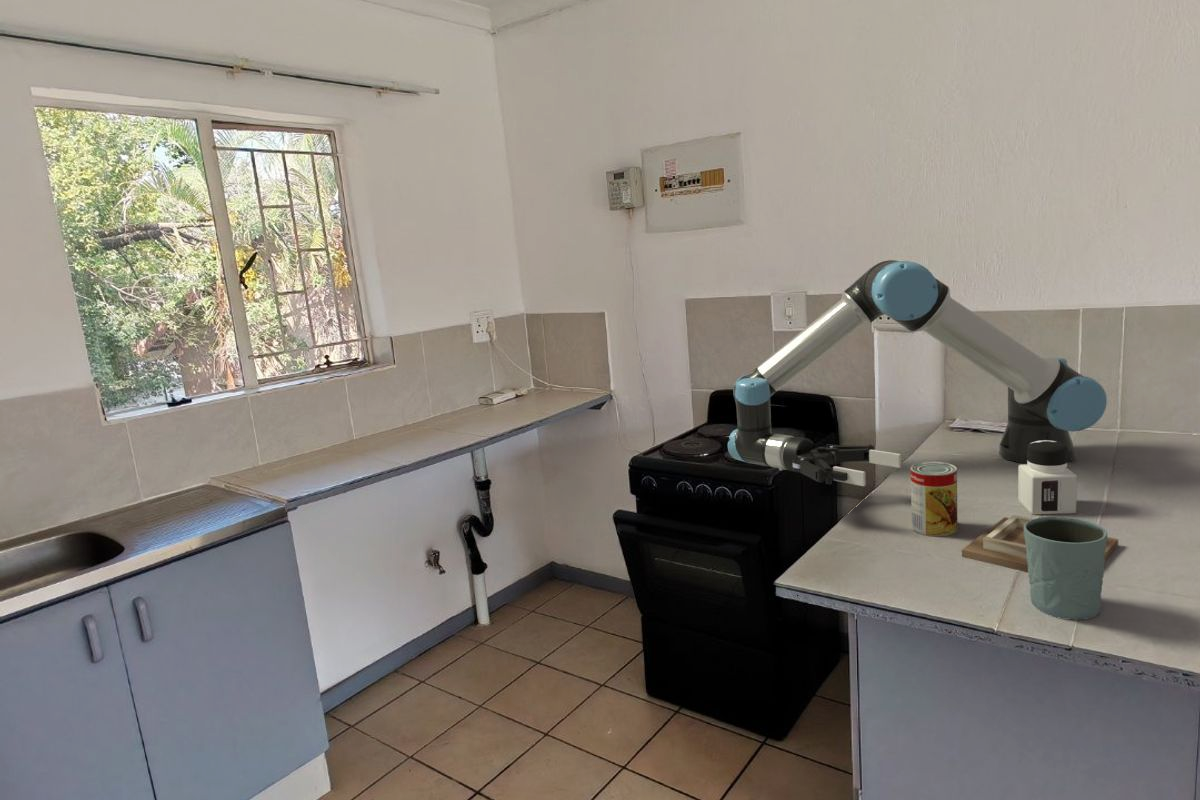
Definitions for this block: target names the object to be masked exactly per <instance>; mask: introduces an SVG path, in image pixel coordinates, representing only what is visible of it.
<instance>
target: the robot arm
mask: <svg viewBox="0 0 1200 800" xmlns="http://www.w3.org/2000/svg"><path fill="white" fill-rule="evenodd" d="M950 291H951V290H950V286H948V285H946V284H945V283H943V282H942V281H940V280H939V279H937V278H936V277H935V276H934V274H933V273H932V272H931V271H930V270H929V269H928V268H927V267H925V266H923V265H922V264H920V263H917V262H915V261H910V260H909V261H907V260H901V261H900V260H893V259H891V260H885V261H881V262H878V263H876V264H874V265H873V266H872V267H870V268H869V269H868V270H866V272H864V274H861V276H860V277H859V278H857V280H856V281H854V282H853V283H852V284H851V285H850V286H849V287H848V288H846V289H845V290H844V291H842V293H841V298H840V300H839V301H837V302H836V303H835V304H834V305H832V306H831V307H830V308H829V309H828V310H826V311H825V312H823V313H822V314H820V316H819V317H817V318H816V319H815V320H813V322H811V323H810V324H809V325H807V326H806V327H805V328H803V330H801V331H800V332H799V333H797V334H796V335H795V336H794V337H793V338H792V339H790V340H789V341H787V343H785V344H784V345H783V346H781V347H780V348H779V349H778V350H776V351H775V352H774V353H772V355H771V356H769V357H768V358H767V359H765V360H764V361H763V362H762V363H760V364H759V365H758V366H757V367H756V368H754V369H753V370H752V371H751V372H750V373H748V374H744V375H742V376H740V377H739V378H738V379H737V380H736V382H735V383H734V386H733V390H732V391H733V392H732V394H733V398H734V402H735V406H736V419H737V428H736V429H734V430H732V432H730V435H729V436H728V442H727V450H728V453H729V455H730V457H732V458H733V459H734V460H738V461H741V462H745V463H746V464H754V465H759V466H765V467H770V468H776V469H778V470H779V471H784V470H785V471H789V472H793V473H794V472H795V473H799V474H801V475H804V476H806V477H808V478H810V479H812V480H813V481H815V482H818V483H821V484H822V483H824V482H825V484H826V485H832V484H833V481H836V482H841V483H843V484H844V483H845V484H850V485H855V486H860V487H865V486H866V484H867V483H866V482H867V481H866V471H863V470H857V469H852V468H846V467H841V466H836V465H839V464H840V463H848V462H849V463H850V462H851V463H853V462H869V463H870V464H873V465H874V464H876V465H882V466H886V467H892V468H898V469H899V468H901V467H902V454H901V453H896V452H889V451H883V450H876V449H875V446H874V445H872V444H868V445H852V444H851V445H848V444H847V445H844V444H839V445H838V444H831V443H828V444H826V445H825V446H818V447H817V446H815V444H814V443H813V441H812V440H811V439H809V438H806V437H798V436H793V435H788V434H780V433H774V432H772V422H771V421H772V419H771V418H772V414H771V397H772V396H773V395H774V394H776V393H778V391H780V390H781V389H782V388H783V387H785V385H787V384H789V382H791V381H792V380H794V379H795V378H796V377H797V376H798V375H800V374H801V373H802V372H804V371H805V370H806V369H807V368H808V367H810V366H811V365H812V364H814V363H815V362H816V361H817V360H819V359H820V358H822V356H825V354H826V353H827V352H829V351H830V350H831V349H832V348H834V347H835V346H836V345H838V344H840V343H841V342H842V341H843V340H844V339H845V338H847V337H848V336H849V335H851V333H853V332H854V331H855V330H857V329H858V328H859V327H860V326H862V325H864V324H865V325H871V323H873V322H874V321H876V320H877V319H878V318H880V317H881V316H883V315H886V317H889V318H890V319H892V320H893V321H895V322H896V323H898V324H899V325H900V326H902V327H904V328H905V329H907V330H908V331H910V332H911V333H917V332H922V331H923V332H925V333H926V334H927V335H929V336H931V337H932V338H934V339H935V340H937V341H939V342H940V343H942V344H943V345H944V346H946V347H947V348H949V349H951V350H952V351H953V352H955V353H957V354H958V355H959V356H961V357H962V358H963V359H965V360H967V361H968V362H970V363H972V364H973V365H974V366H976V367H977V368H979V369H980V370H982V371H983V372H985V373H986V374H988V375H989V376H991V377H992V378H994V379H996V380H997V381H998V382H1001V383H1002V384H1003V385H1005V387H1007V424H1006V427H1005V430H1004V432H1003V435H1002V437H1001V440H1000V442H999V448H998V450H999V456H1000V455H1001V456H1000V457H1002V458H1003V459H1005V460H1008V461H1011V460H1012V462H1015V461H1016V462H1015V463H1020V464H1027V454H1028V445H1029V444H1030V443H1032V442H1036V441H1042V440H1049V441H1056V442H1060V443H1062V444H1064V445H1066V446H1067V448H1068V450H1067V462H1070V461H1072V460H1073V459H1074V458H1075V446H1074V443H1073V441H1072V438H1071V435H1070V433H1069V432H1074V433H1075V432H1081V431H1084V430H1087V429H1089V428H1091V427H1092V426H1094V425H1096V423H1098V422H1099V421H1100V419H1101V418H1102V417H1103V416H1104V413H1105V411H1106V408H1107V402H1108V401H1107V400H1108V399H1107V398H1108V397H1107V393H1106V391H1105V388H1104V387H1103V386H1102V385H1101V384H1100V383H1099V382H1098V381H1096V379H1094V378H1092V377H1090V376H1084V375H1082V374H1081V373H1079V372H1078V371H1076V370H1074V369H1073V368H1072V367H1070V366H1069V365H1068V362H1067V359H1066V358H1064V357H1053V356H1052V357H1040V356H1039V355H1038V354H1036V353H1035V352H1034V351H1031V350H1030V349H1029V348H1028V347H1026V346H1024V345H1023V344H1021V343H1020V342H1018V341H1017V340H1015V339H1014V338H1012V337H1011V336H1009V335H1008V334H1006V333H1005V332H1003V331H1002V330H1000V329H999V328H997V327H996V326H994V325H993V324H991V323H989V321H987V320H985V319H984V318H982V317H981V316H979V315H978V314H977V313H975V312H973V311H972V310H970V309H968V308H967V307H965V306H964V305H963V304H961V303H960V302H958V301H956V300H955V299H953V298H952V297H951V292H950ZM832 465H835V466H833V467H831V466H832Z"/></svg>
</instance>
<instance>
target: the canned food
mask: <svg viewBox="0 0 1200 800" xmlns="http://www.w3.org/2000/svg"><path fill="white" fill-rule="evenodd" d="M910 491H911V492H910V493H911V495H910V498H911V502H910V503H911V504H910V505H911V529H912V530H913V531H914V532H915V533H917V534H920V535H923V536H929V537H947V536H951V535H954V534H955V533H957V532H958V467H956V466H955V465H954V464H951V463H949V462H943V461H922V462H916V463H914V464H912V465H911V466H910Z"/></svg>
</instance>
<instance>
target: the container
mask: <svg viewBox="0 0 1200 800" xmlns="http://www.w3.org/2000/svg"><path fill="white" fill-rule="evenodd" d="M1067 450H1068V448H1067V446H1066V445H1064V444H1062V443H1060V442H1056V441H1049V440H1042V441H1036V442H1032V443H1030V444H1029V445H1028V454H1027V463H1024V464H1018V475H1017V477H1018V481H1017V483H1018V484H1017V485H1018V489H1017V490H1018V492H1017V493H1018V494H1017V495H1018V496H1017V497H1018V498H1017V500H1018V502H1019V503H1020V504H1021V505H1022V506H1024V508H1025V509H1026V510H1027V511H1029V513H1030V514H1032V515H1063V514H1065V515H1066V514H1067V515H1069V514H1076V512H1077V495H1078V494H1077V493H1078V485H1077V484H1078V476H1077V474H1076V473H1074V472H1073V471H1072V470H1070V469H1069V468H1068V461H1067Z"/></svg>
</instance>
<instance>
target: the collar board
mask: <svg viewBox="0 0 1200 800" xmlns="http://www.w3.org/2000/svg"><path fill="white" fill-rule="evenodd" d="M1033 519H1034V518H1031V517H1026V516H1022V515H1021V516H1020V515H1015V514H1013V515H1012V516H1011V517H1005V516H1004V517H1002V519H1001V520H999V521H998V522H996V523H995V524H994V525H993V526H991V527H990V528H989V529H987V530H986V531H985V532H983V533H982V534H981V535H979V536H978V537H976V538H975V539H974V540H972V541H971V542H970V543H969V544H968V545H966V546H965V547H963V548H962V549H961V557H964V558H968V559H971V560H972V559H973V560H977V561H980V562H984V563H989V564H993V565H997V566H1002V567H1005V568H1010V569H1014V570H1018V571H1021V572H1022V571H1023V572H1025V573H1026V572H1027V573H1029V572H1028V562H1027V551H1026V543H1025V536H1024V525H1025V524H1026V523H1027V522H1028V521H1030V520H1033ZM1118 547H1119V538H1113V537H1110V536H1109V537H1108V536H1107V543H1106V552H1105V555H1104V559H1105V560H1107V558H1108V557H1109V556H1110V555H1112V553H1113V552H1114V551H1115V550H1116V549H1117V548H1118Z"/></svg>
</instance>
